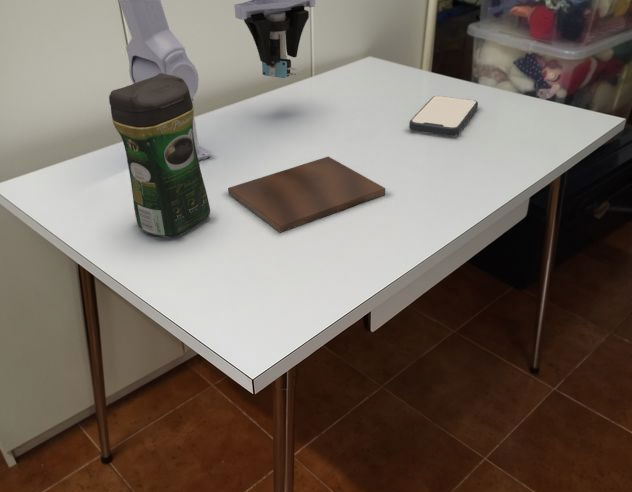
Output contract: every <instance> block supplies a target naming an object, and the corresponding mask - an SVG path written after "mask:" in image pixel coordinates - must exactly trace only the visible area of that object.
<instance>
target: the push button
mask: <svg viewBox="0 0 632 492" xmlns="http://www.w3.org/2000/svg"><path fill="white" fill-rule="evenodd" d="M264 17H266V19H267V20H270V21H271V22H272V24H271V30H270V63H264V62H262V61H261V70H262V71H261V72H262V75H263V76H266V77H272V78H279V79H286V78H289V77H290V76H294V77H296V76H298V75H299V74H298V73H293V72H291V71H297V70H298V68H295V67H292V60H291V59H290V58H288V55H287V50H286V35H285V32H286V30H288V29H289V22H290V21H291V19H290V18H289V17H286V16H285V12H284V11H282V12H276V13H271V14H265V15H264Z"/></svg>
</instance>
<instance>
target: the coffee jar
mask: <svg viewBox="0 0 632 492" xmlns="http://www.w3.org/2000/svg"><path fill="white" fill-rule="evenodd" d="M108 103H109V105H110V112H111V113H110V114H111V120H112V124H113V127H114V128H115V130H116V131H117V132H118V134H119V136H120V137H121V140H122V143H123V146H124V152H125V156H126V160H127V166H128V172H129V179H130V187H131V193H132V202H133V209H134V215H135V219H136V225H137V227H138V228H139V229H140V230H141V231H143V232H144V233H145V234H148V235H150V236H152V237H156V238H168V239H169V238H171V239H172V238H176V237H179V236H181V235H184V234H185V233H187V232H189V231H191V230H192V229H194V228H195V227H198V226H199V225H201V224H202V223H203V222H204V221H206V220H207V219H208V218H209V216H210V215H211V206H210V202H209V201H210V200H209V197H208V192H207V190H206V185H205V181H204V178H203V173H202V169H201V165H200V160H198V156H197V152H196V148H195V142H194V136H193V116H194V117H195V109H194V108H195V107H194V103H193V102H192V100H191V96H190V92H189V89H188V86H187V84H186V83H185V81H184V80H183V79H182V78H179V77H176V76H172V75H168V74H163V73H159V74H158V75H156V76H154V77H151V78H148V79H145V80H142V81H139V82H137V83H134V84H133V83H132V84H129V85H126V86H124V87H119V88H117V89H116V88H115V89H112V91H111V92H110V93H109V95H108Z"/></svg>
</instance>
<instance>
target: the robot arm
mask: <svg viewBox="0 0 632 492" xmlns="http://www.w3.org/2000/svg"><path fill="white" fill-rule="evenodd" d="M118 2H119V6H120V8H121V10H122V15H123V16H124V19H125V21H126V22H125V23H126V25H127V28H128V30H129V33H130V36H131V39H130V40H129V42H128V43H127V45H126V48H125V50H126V53H127V56H128V61H129V64H128V65H129V68H128V72H129V73H128V74H129V77H130V80H131V82H132V84H134V83H137V82H139V81H142V80H145V79H148V78H151V77H154V76H156V75H158V74H159V73H163V74H168V75H172V76H176V77H179V78H182V79H183V80H184V81H185V83H186V84H187V86H188V89H189V92H190V96H191V100H192V103H193V102H194V101H195V100H194V97H195V96H196V94H197V91H198V89H199V81H200V79H199V73H198V69H197V68H196V65H195V64H194V63H193V62H192V61H191V60H190V59H189V57H188V55H187V52H186V49H185V47H184V45H183V43H181V41H180V40H179V39H178V38H177V37H176V36H175V34H174V33H173V32H172V31H171V29H170V27H169V23H168V19H167V17H166V14H165V11H164V7H163V4H162V1H161V0H118ZM233 7H234V15H235V16H234V17H235V18H236V19H238V20H240V21H243V22H244V24H245V25H246V27H247V29H248V30H249V33H250V35H251V36H252V39H253V42H254V44H255V46H256V49H257V53H258V57H259V60H260V62H261V63H262V62H264V63H270V30H271V24H272V22H271V21H270V20H267V19H266V17H264V15H265V14H271V13H276V12H282V11H284V12H285V16H286V17H289V18H290V19H291V21H290V22H289V29H288V30H286V32H285V43H286V56H289V57H291V58H297V57H298V53H299V52H298V51H299V46H300V41H301V39H302V38H301V37H302V34H303V31H304V28H305V26H306V24H307V22H308V20H309V19H310V12H309V10H307V9H305V8H314V7H316V0H248V1H244V2H240V3H236V4H234V6H233ZM193 136H194V142H195V148H196V152H197V156H198V161H201V160H203V159H207V158H210V153H209V152H208V151H206V150H205V149H203V148H202V147H201V146H199V139H198V133H197V125H196V118H195V115H194V116H193Z"/></svg>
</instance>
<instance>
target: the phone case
mask: <svg viewBox="0 0 632 492" xmlns="http://www.w3.org/2000/svg"><path fill="white" fill-rule="evenodd" d="M478 106H479V102H478V101H477V100H475V99H468V98H459V97H452V96H444V95H435V96H432V97H431V98H430V99H429V100H428V101H427V102H426V103H425V104H424V105H423V107H422V108H421V109H420V110H419V111H418V112H417V113H415V115H414V116H413V117H412V118H411V119H410V120H409V124H408V128H409V130H411V131H415V132H422V133H428V134H434V135H435V134H436V135H442V136H448V137H449V136H450V137H454V136H458V135H459V134H460V132H461V131H462V130H463V128H464V127H465V126H466V124H467V123H468V122H469V120H471V118H472V116H473V115H474V114H475V112H476V111H477V110H478Z"/></svg>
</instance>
